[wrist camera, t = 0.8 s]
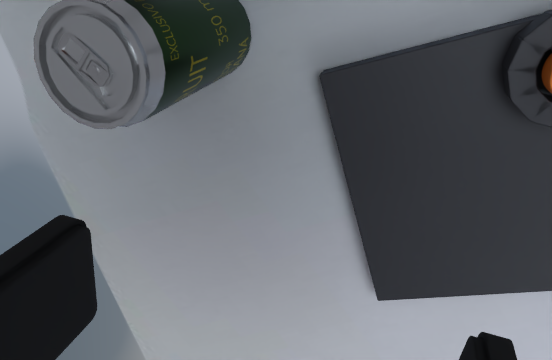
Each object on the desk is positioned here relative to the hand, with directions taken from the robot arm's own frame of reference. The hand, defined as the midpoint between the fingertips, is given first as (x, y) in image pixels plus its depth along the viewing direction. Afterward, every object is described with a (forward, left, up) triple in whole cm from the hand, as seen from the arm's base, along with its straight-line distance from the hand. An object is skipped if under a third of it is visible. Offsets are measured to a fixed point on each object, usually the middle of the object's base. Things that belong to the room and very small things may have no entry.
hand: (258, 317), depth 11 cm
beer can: (-7, -7, -19) cm, 21 cm away
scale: (+5, +6, -19) cm, 20 cm away
